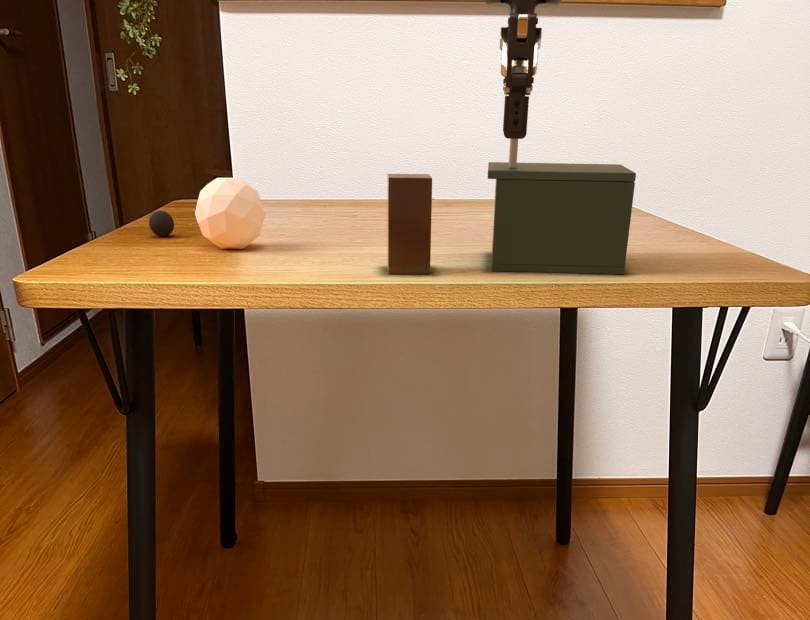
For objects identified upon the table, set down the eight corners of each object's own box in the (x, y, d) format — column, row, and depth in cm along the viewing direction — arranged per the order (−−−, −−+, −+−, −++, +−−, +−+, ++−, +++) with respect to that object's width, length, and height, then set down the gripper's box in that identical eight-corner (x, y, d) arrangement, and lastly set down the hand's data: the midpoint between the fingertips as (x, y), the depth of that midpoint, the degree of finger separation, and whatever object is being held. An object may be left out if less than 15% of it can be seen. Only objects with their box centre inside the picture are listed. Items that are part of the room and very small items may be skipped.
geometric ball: (252, 272, 103) (284, 217, 98) (188, 252, 98) (218, 193, 93) (240, 231, 106) (270, 176, 102) (178, 209, 102) (206, 151, 97)
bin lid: (487, 178, 86) (490, 118, 84) (488, 169, 96) (490, 115, 94) (635, 181, 85) (642, 120, 83) (620, 172, 95) (626, 117, 93)
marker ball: (180, 236, 109) (177, 210, 108) (161, 239, 107) (158, 212, 106) (164, 233, 111) (161, 208, 109) (145, 236, 108) (142, 210, 107)
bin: (491, 270, 90) (496, 179, 86) (491, 252, 100) (496, 170, 96) (624, 274, 89) (635, 182, 85) (610, 255, 99) (620, 172, 95)
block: (427, 266, 92) (429, 174, 88) (430, 274, 88) (432, 177, 84) (387, 266, 92) (387, 173, 87) (388, 274, 88) (388, 177, 84)
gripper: (572, -66, 75) (555, 141, 83) (561, -44, 88) (547, 134, 95) (485, -66, 76) (475, 139, 83) (486, -44, 89) (478, 133, 96)
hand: (513, 136), depth 89 cm, fingers open, 8 cm apart
